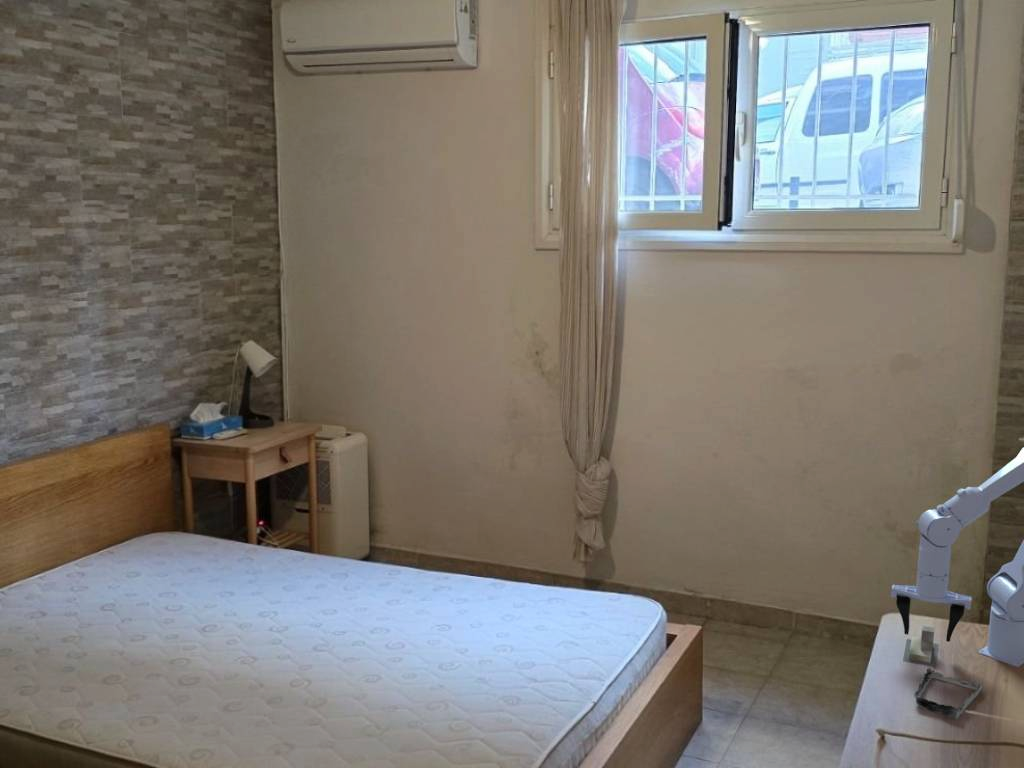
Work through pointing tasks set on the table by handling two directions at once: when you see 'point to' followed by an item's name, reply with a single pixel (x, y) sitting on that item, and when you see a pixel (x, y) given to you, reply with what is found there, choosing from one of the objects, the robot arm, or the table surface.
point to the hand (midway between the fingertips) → (927, 635)
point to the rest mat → (933, 661)
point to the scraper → (922, 645)
